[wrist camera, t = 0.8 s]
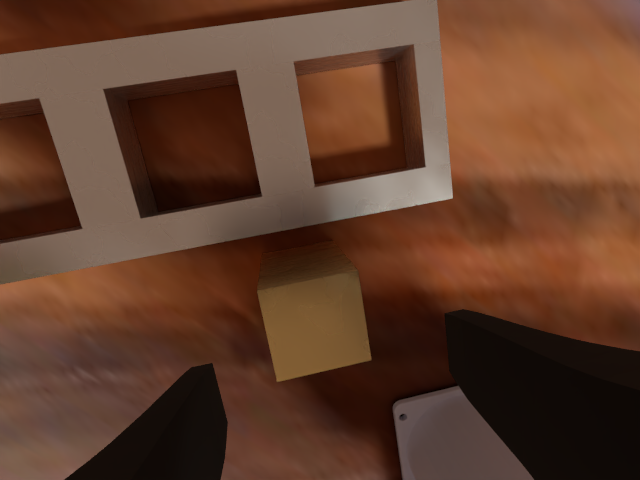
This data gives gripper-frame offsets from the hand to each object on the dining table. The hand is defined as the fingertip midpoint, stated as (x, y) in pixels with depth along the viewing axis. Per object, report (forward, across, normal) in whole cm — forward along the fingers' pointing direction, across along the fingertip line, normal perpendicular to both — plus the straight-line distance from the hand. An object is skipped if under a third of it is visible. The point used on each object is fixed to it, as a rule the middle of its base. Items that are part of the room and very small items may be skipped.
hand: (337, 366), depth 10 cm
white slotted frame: (+9, +4, -8) cm, 13 cm away
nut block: (+9, 0, 0) cm, 9 cm away
